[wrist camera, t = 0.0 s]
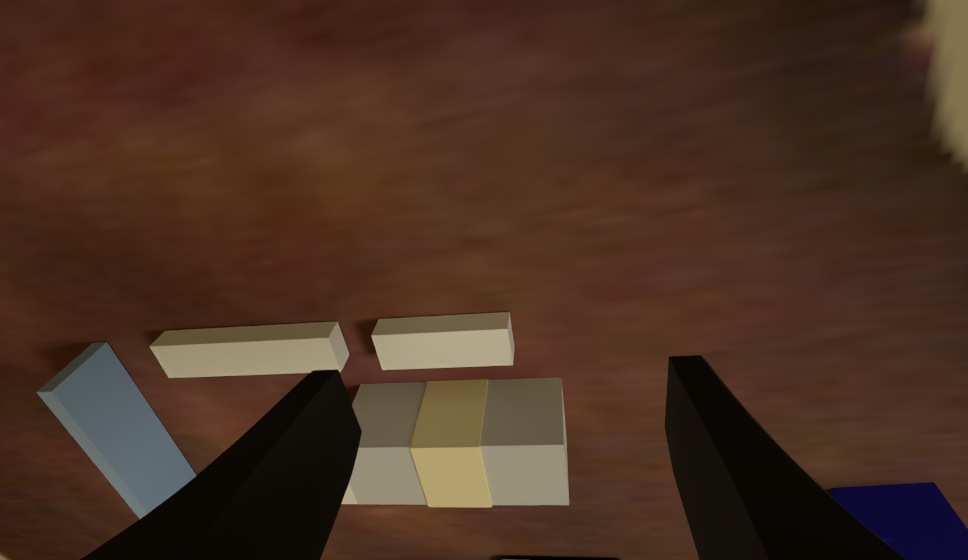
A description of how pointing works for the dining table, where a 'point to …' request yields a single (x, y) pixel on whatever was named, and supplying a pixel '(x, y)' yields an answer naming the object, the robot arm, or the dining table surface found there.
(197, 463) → the dining table surface
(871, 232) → the dining table surface
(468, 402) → the banded cream box
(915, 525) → the navy blue l-shaped piece
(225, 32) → the dining table surface
